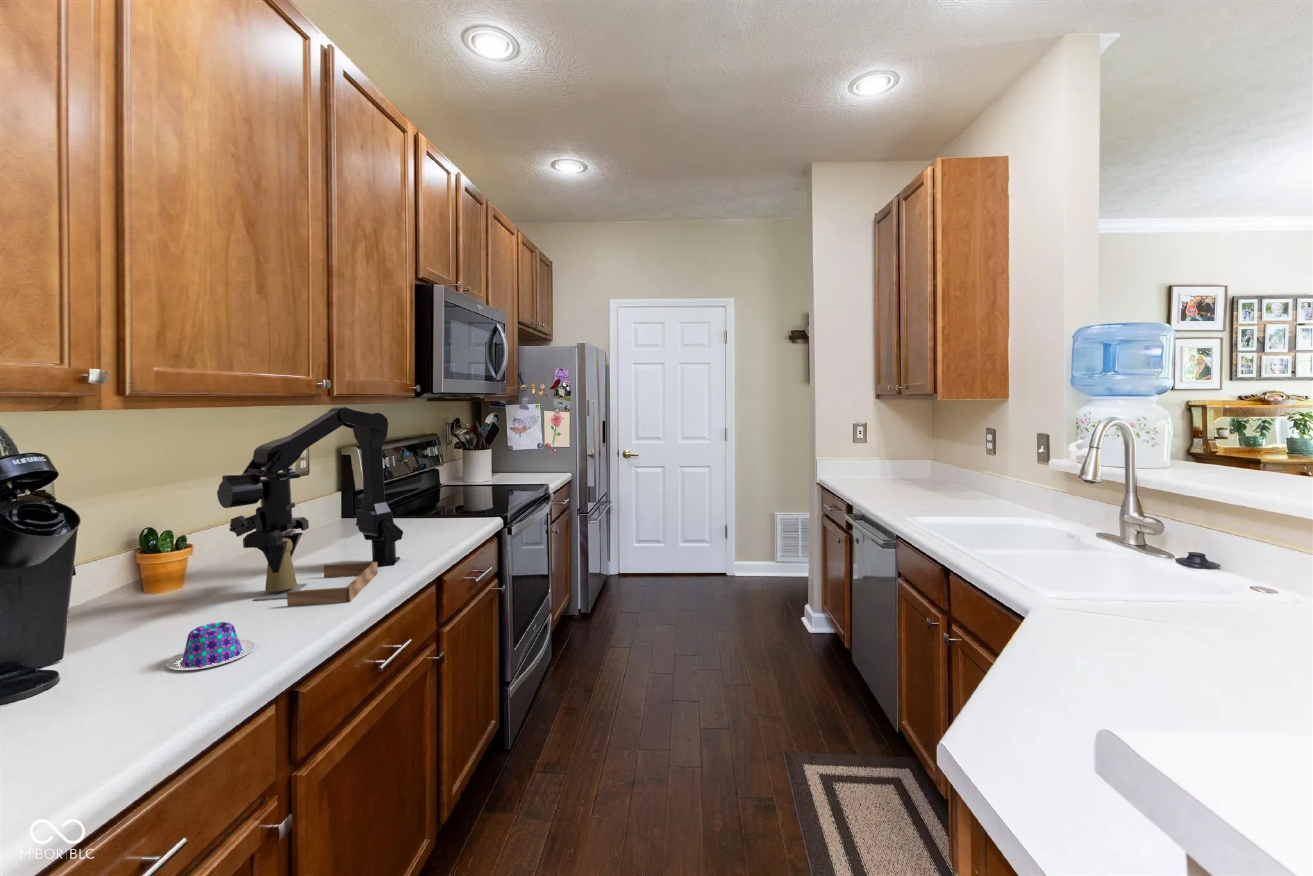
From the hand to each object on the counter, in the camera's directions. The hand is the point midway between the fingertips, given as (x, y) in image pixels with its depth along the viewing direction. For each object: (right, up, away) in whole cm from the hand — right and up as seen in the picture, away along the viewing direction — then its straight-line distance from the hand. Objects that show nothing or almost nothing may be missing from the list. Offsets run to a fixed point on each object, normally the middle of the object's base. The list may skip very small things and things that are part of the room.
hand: (280, 569), depth 132 cm
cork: (0, -4, 0) cm, 4 cm away
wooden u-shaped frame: (+11, -5, +2) cm, 13 cm away
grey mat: (0, -5, 0) cm, 5 cm away
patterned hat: (+10, -8, -33) cm, 36 cm away
